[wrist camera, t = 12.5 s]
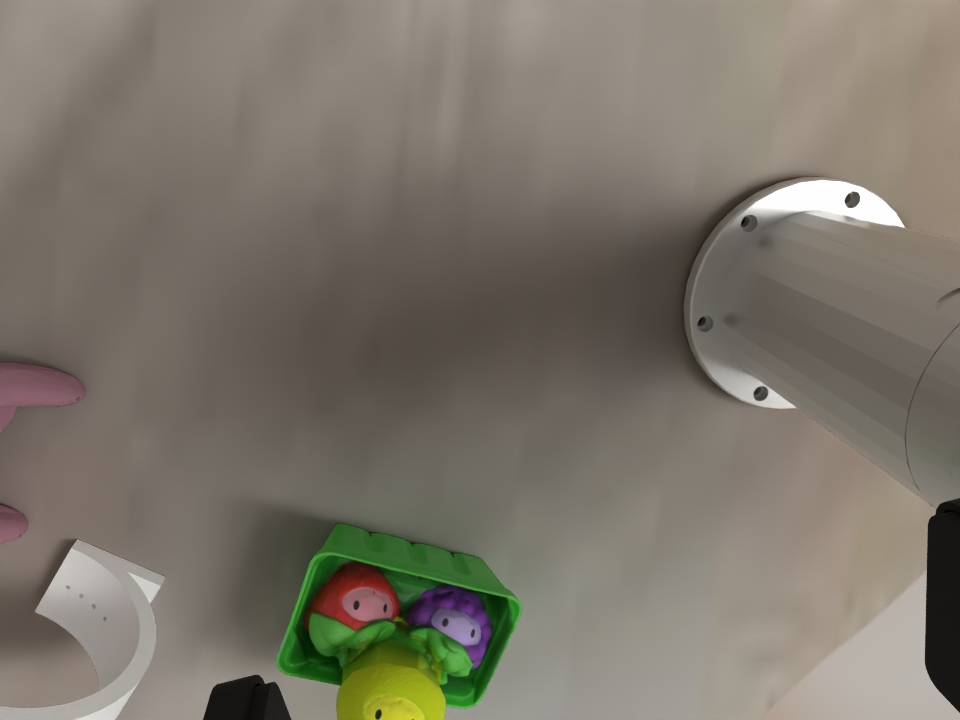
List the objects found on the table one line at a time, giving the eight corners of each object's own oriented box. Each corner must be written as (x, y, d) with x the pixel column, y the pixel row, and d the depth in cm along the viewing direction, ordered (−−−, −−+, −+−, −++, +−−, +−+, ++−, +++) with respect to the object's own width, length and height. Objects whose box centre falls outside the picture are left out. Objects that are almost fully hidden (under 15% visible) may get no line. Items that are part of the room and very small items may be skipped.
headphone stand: (77, 538, 39) (-45, 713, 28) (183, 584, 41) (108, 766, 30) (40, 602, 40) (-93, 796, 29) (145, 644, 42) (58, 843, 30)
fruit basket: (512, 545, 43) (555, 689, 32) (459, 664, 45) (484, 835, 35) (322, 495, 40) (301, 635, 30) (277, 624, 42) (242, 797, 32)
